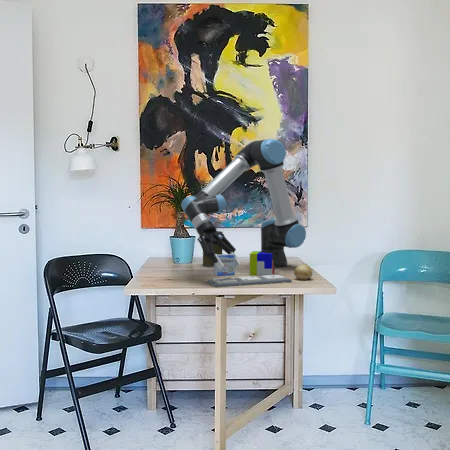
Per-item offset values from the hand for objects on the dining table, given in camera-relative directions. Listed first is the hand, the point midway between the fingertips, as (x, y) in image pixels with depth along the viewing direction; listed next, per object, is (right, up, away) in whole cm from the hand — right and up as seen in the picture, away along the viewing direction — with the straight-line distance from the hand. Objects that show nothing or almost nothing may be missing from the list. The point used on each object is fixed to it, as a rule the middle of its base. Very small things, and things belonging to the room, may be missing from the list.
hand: (230, 266), depth 232 cm
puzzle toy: (+15, -6, +29) cm, 33 cm away
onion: (+32, -7, +14) cm, 36 cm away
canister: (-8, -4, +57) cm, 57 cm away
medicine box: (-2, -4, +3) cm, 5 cm away
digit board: (+8, -7, +6) cm, 13 cm away
